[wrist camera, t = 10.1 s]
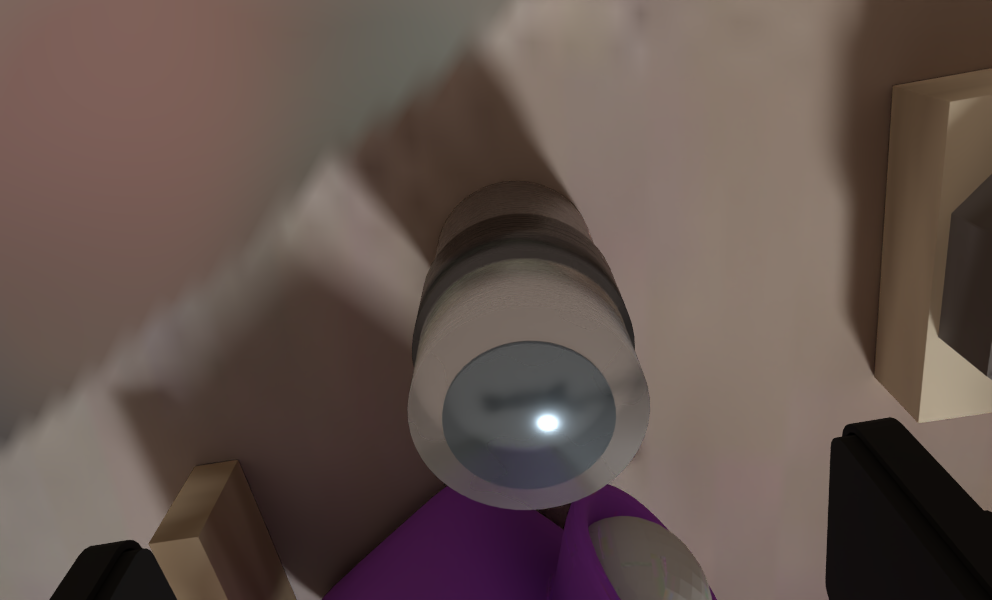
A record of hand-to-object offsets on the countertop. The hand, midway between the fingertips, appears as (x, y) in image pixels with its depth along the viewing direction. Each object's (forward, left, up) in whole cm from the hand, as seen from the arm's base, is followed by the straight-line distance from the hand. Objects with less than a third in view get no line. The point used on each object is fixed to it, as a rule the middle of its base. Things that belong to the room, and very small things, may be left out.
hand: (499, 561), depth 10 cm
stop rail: (+10, +13, -12) cm, 20 cm away
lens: (-1, 0, -12) cm, 12 cm away
